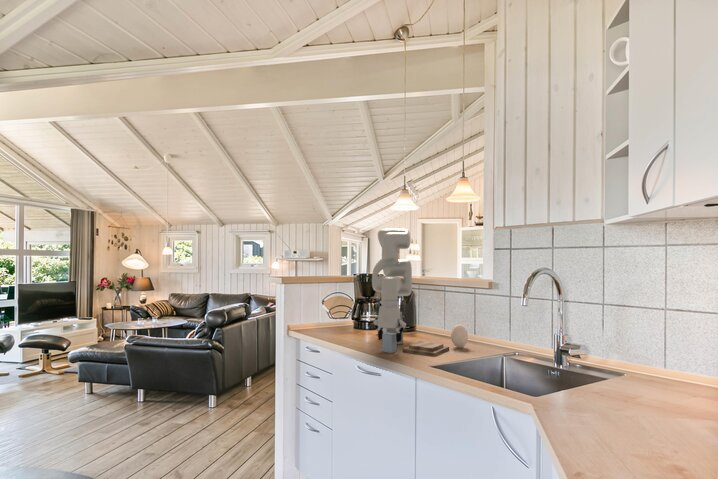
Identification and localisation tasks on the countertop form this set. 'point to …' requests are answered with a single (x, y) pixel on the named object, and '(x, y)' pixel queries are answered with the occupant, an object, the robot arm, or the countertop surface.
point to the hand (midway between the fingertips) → (389, 340)
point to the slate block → (389, 342)
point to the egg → (459, 336)
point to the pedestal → (426, 348)
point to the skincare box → (396, 331)
